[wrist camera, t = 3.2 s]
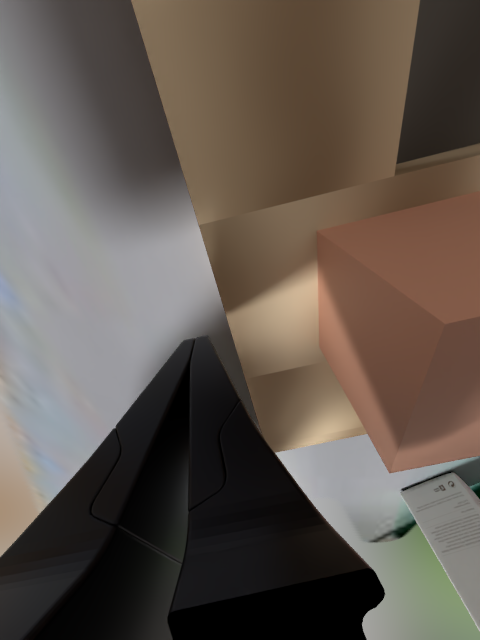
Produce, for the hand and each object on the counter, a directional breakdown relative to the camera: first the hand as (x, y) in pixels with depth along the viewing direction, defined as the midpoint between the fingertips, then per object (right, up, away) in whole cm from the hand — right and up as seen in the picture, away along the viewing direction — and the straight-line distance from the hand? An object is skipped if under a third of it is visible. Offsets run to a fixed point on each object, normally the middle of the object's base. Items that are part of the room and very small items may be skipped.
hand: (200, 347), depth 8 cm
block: (+7, +2, +1) cm, 7 cm away
